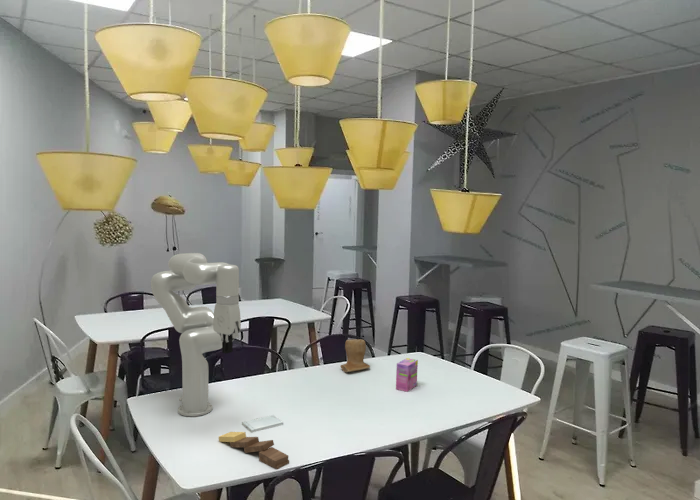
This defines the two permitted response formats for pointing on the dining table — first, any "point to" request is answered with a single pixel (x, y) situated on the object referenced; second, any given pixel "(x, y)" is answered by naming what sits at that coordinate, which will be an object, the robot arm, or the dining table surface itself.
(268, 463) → the walnut domino
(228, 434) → the ochre domino
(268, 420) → the hard drive
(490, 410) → the dining table surface
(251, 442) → the walnut domino
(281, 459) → the walnut domino
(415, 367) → the box
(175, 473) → the dining table surface
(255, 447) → the walnut domino
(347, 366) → the brown statuette
